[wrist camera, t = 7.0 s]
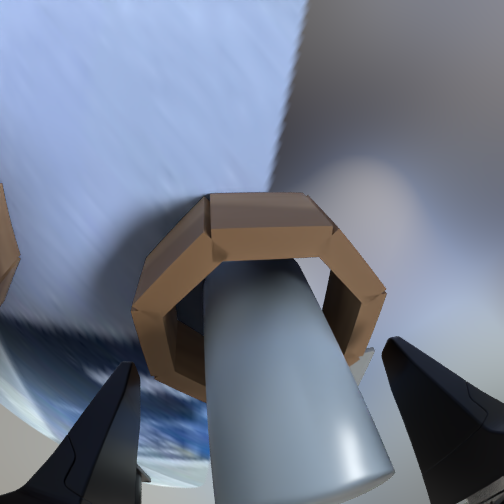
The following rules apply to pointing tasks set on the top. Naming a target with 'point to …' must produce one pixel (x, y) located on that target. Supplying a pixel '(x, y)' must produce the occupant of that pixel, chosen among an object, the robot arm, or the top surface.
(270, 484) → the grey tube
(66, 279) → the top surface
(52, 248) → the top surface
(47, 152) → the top surface
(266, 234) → the ring
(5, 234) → the ring
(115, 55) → the top surface
